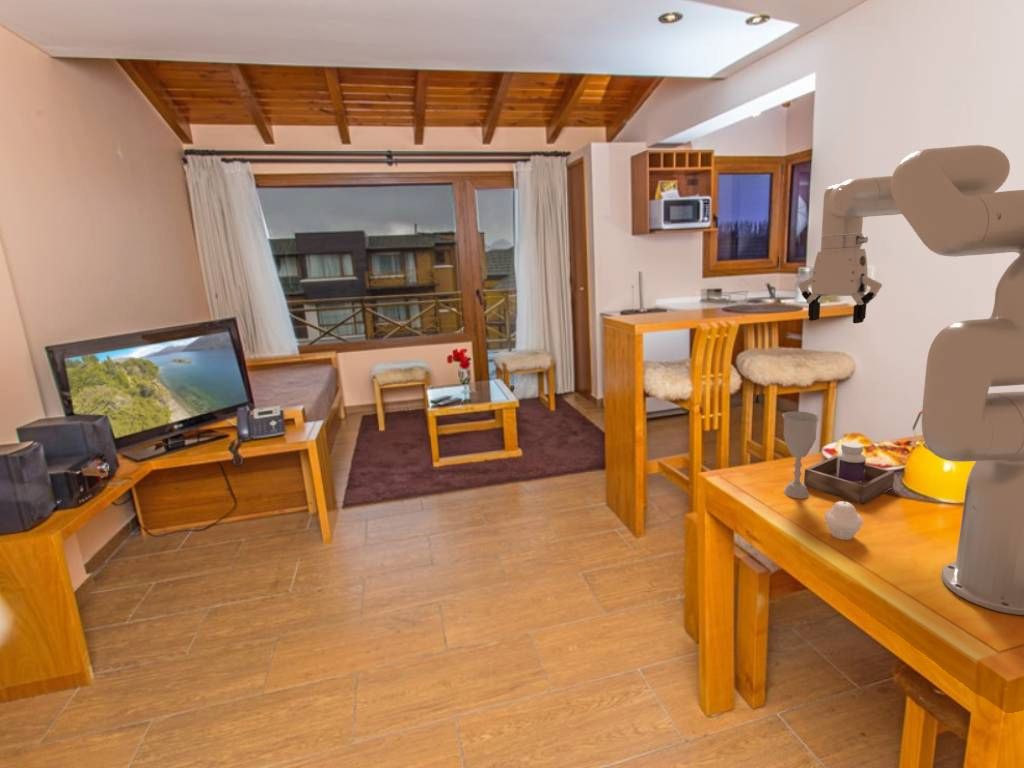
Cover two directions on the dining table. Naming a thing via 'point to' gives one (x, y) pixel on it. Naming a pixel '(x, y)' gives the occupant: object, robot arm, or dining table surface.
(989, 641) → the dining table surface
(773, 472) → the dining table surface
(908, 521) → the dining table surface
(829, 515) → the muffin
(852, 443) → the pill bottle
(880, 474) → the walnut box
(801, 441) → the chalice
